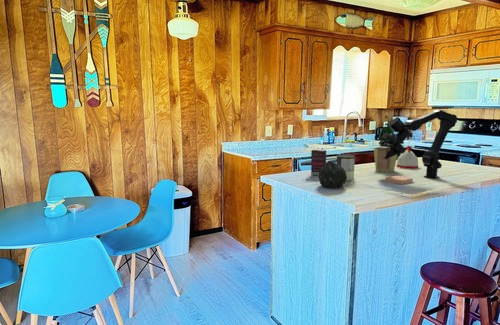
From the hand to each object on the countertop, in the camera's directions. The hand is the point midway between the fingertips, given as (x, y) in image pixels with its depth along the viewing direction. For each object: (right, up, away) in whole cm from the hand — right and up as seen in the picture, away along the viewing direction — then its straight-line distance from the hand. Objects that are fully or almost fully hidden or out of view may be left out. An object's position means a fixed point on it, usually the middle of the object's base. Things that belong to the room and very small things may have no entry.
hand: (381, 157), depth 197 cm
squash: (-31, -16, -12) cm, 37 cm away
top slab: (+7, -13, -7) cm, 17 cm away
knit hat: (+35, -6, +46) cm, 58 cm away
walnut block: (+1, -6, +1) cm, 7 cm away
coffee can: (-19, -13, +6) cm, 24 cm away
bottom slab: (+7, -15, -7) cm, 18 cm away
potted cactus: (+14, -8, +32) cm, 36 cm away
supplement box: (-33, -11, +19) cm, 39 cm away
